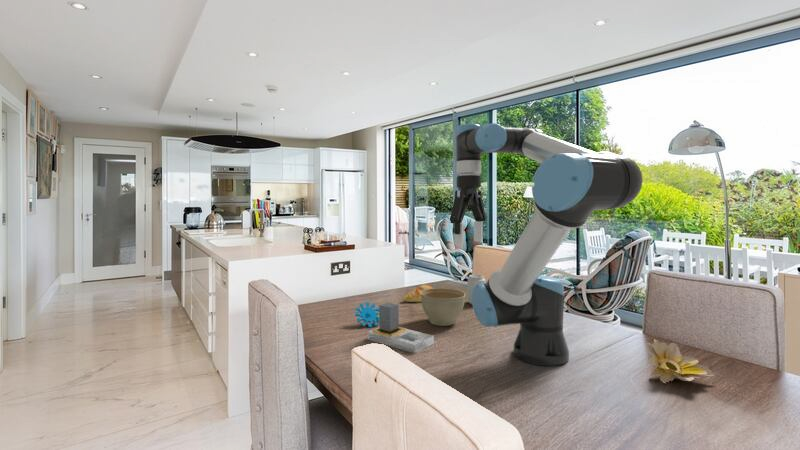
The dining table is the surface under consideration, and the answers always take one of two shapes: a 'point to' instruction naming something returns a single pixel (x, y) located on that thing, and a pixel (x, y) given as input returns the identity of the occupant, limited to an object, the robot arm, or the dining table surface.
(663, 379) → the decorative flower
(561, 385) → the dining table surface
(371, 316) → the gear
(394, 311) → the peg
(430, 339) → the grey slotted holder
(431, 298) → the planter bowl
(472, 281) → the can
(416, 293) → the croissant
